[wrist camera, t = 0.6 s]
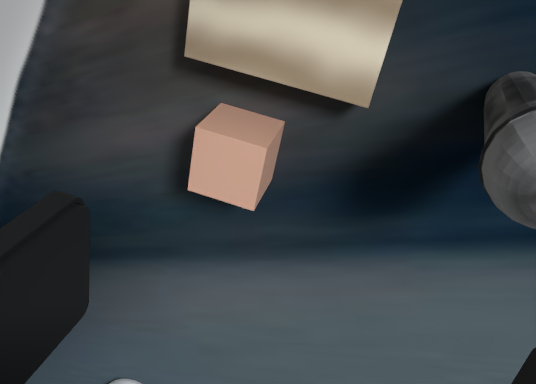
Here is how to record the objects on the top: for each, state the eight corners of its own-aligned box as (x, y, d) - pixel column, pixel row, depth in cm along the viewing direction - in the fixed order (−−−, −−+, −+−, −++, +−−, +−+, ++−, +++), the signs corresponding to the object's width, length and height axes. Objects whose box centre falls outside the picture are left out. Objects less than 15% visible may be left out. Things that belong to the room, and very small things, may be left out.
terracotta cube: (221, 102, 45) (195, 126, 40) (285, 121, 44) (267, 148, 39) (212, 160, 48) (187, 190, 43) (271, 179, 47) (253, 211, 42)
